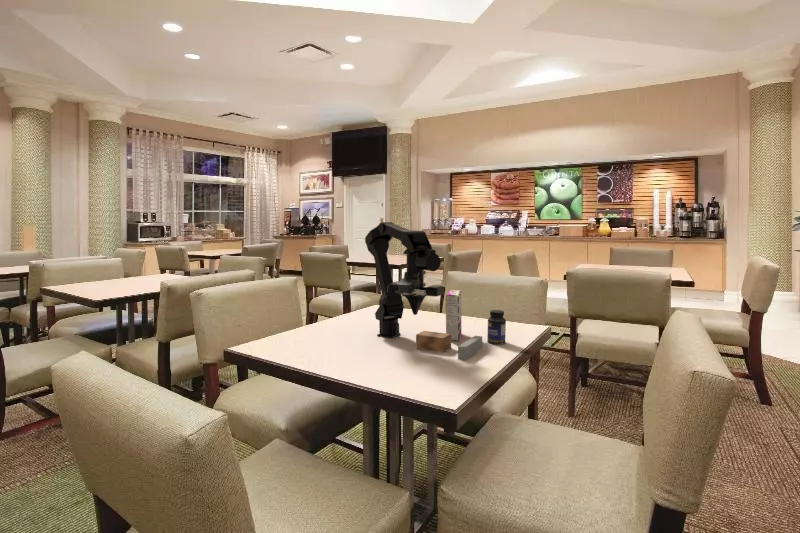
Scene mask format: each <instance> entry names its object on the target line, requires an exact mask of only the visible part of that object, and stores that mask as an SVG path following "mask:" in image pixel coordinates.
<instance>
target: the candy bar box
mask: <svg viewBox="0 0 800 533" xmlns="http://www.w3.org/2000/svg"><path fill="white" fill-rule="evenodd" d="M445 333H446V334H451V342H454V341H455V342H459V341H460V340H461V337H462V334H463V333H462V290H457V289H456V290H453V289H451V290H448V291H447V293H446V294H445Z"/></svg>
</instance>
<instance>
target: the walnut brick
mask: <svg viewBox="0 0 800 533" xmlns="http://www.w3.org/2000/svg"><path fill="white" fill-rule="evenodd" d="M415 349H416V350H423V351H429V352H437V353H442V354H443V353H445V352H447V351H448V350H451V349H452V341H451V334H446V332H445V333H444V332H438V331H437V332H436V331H429V330H423V331H419V333H416V334H415Z"/></svg>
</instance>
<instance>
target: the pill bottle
mask: <svg viewBox="0 0 800 533" xmlns="http://www.w3.org/2000/svg"><path fill="white" fill-rule="evenodd" d="M489 315H490V317H488V319H487V343H488V344H492V345H504V344H505V343H506V331H507V328H506V325H507V323H506V322H507V320H506V318H505V317H504V315H505V312H504V310H500V309H492V310H489Z"/></svg>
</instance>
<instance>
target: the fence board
mask: <svg viewBox="0 0 800 533" xmlns="http://www.w3.org/2000/svg"><path fill="white" fill-rule="evenodd" d="M482 349H483V336H481V335H474V336H473V337H471V338H469V339H467V340H466V341H464V342H463V343H461V344H460V345H458V346H457V360H460V361H461V360H462V361H467V360H468V359H469V358H470V357H472V356H473V355H475V354H476V353H478V352H479V351H480V350H482Z"/></svg>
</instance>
